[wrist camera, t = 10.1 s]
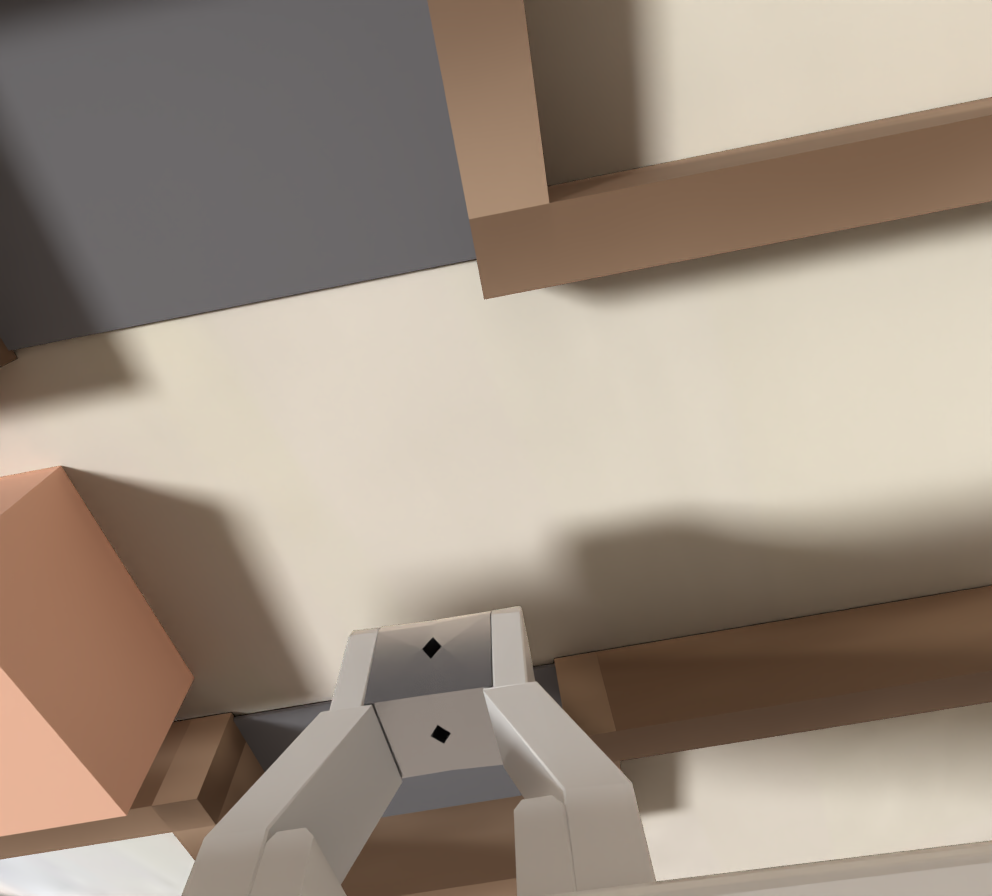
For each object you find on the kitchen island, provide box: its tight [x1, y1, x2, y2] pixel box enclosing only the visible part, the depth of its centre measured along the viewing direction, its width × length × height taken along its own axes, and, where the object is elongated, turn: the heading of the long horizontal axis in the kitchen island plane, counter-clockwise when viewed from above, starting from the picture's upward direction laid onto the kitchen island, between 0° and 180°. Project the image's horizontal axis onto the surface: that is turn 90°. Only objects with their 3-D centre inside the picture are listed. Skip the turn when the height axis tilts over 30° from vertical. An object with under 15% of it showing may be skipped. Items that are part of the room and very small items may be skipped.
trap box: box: [0, 0, 992, 896], centre depth 12 cm, size 25×31×4 cm
